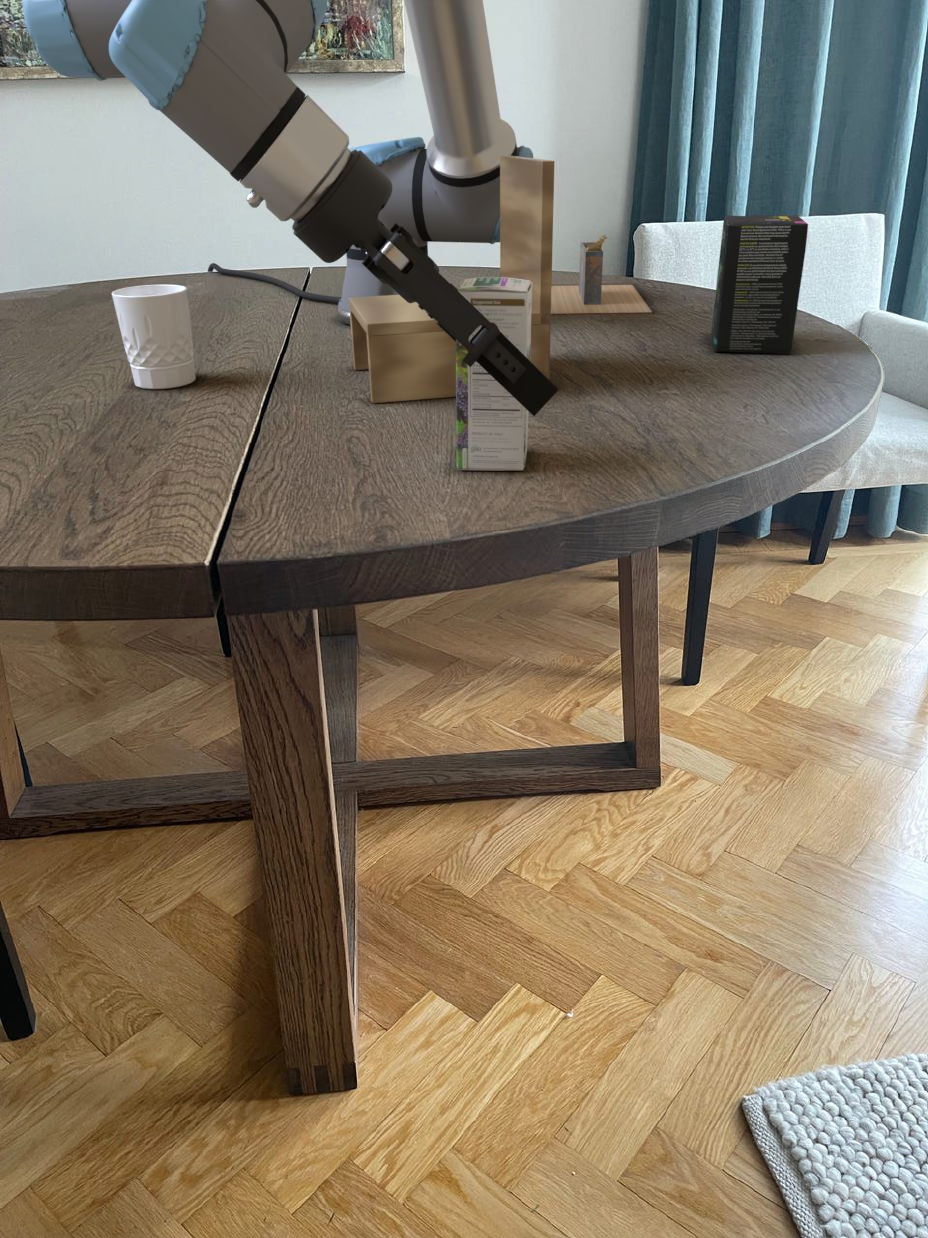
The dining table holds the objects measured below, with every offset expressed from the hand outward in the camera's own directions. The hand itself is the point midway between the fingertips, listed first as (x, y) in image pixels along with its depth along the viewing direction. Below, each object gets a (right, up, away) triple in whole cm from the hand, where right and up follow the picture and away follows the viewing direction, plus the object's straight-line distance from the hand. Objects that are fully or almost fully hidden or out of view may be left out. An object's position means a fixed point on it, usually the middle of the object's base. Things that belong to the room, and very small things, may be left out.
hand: (521, 381), depth 77 cm
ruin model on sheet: (+15, +31, +71) cm, 79 cm away
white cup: (-39, +7, +29) cm, 49 cm away
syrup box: (-2, -6, +3) cm, 7 cm away
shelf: (-7, +8, +28) cm, 30 cm away
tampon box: (+31, +15, +40) cm, 53 cm away
